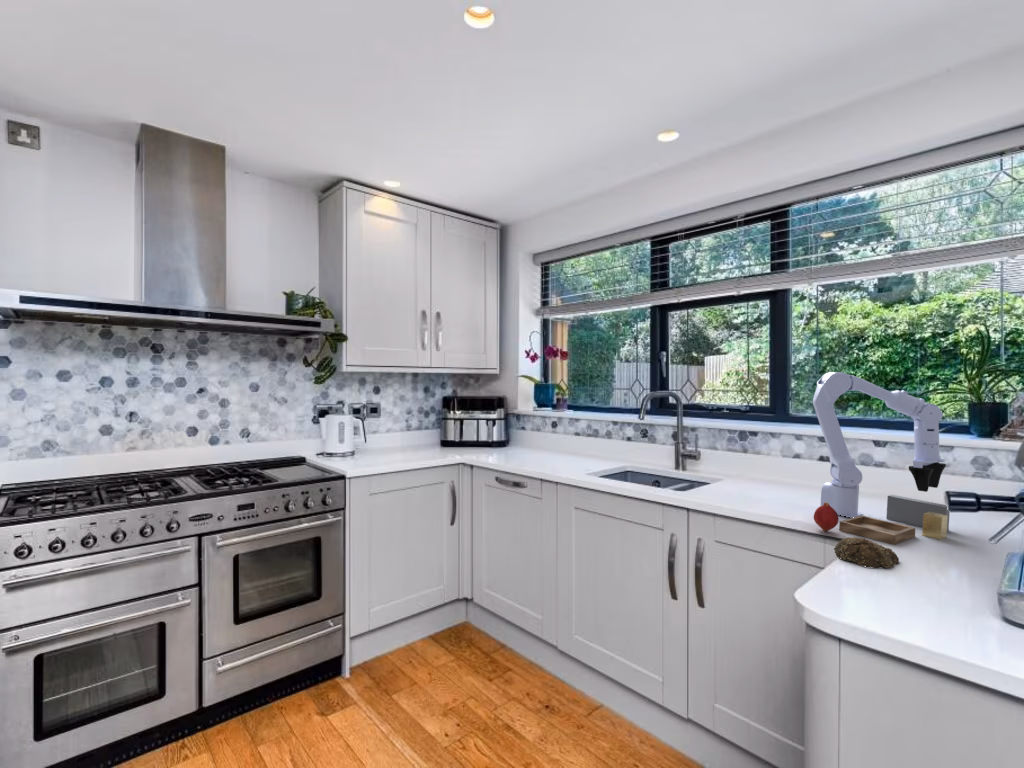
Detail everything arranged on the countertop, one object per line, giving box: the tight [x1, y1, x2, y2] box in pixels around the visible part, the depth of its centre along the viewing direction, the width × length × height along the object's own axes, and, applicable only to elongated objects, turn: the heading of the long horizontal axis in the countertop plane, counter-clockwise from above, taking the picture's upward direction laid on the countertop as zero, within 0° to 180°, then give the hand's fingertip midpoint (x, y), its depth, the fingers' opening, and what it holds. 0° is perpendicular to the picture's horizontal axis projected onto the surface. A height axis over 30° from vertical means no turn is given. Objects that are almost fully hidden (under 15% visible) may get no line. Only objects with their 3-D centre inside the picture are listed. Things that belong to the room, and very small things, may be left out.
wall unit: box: [886, 494, 951, 532], centre depth 149 cm, size 14×3×7 cm, turn 33°
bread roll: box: [833, 536, 900, 569], centre depth 120 cm, size 13×12×5 cm
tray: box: [838, 515, 916, 545], centre depth 139 cm, size 13×13×2 cm
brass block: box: [922, 512, 948, 541], centre depth 138 cm, size 4×4×6 cm
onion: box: [813, 502, 840, 532], centre depth 140 cm, size 6×6×8 cm
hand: (927, 489), depth 151 cm, fingers open, 7 cm apart
